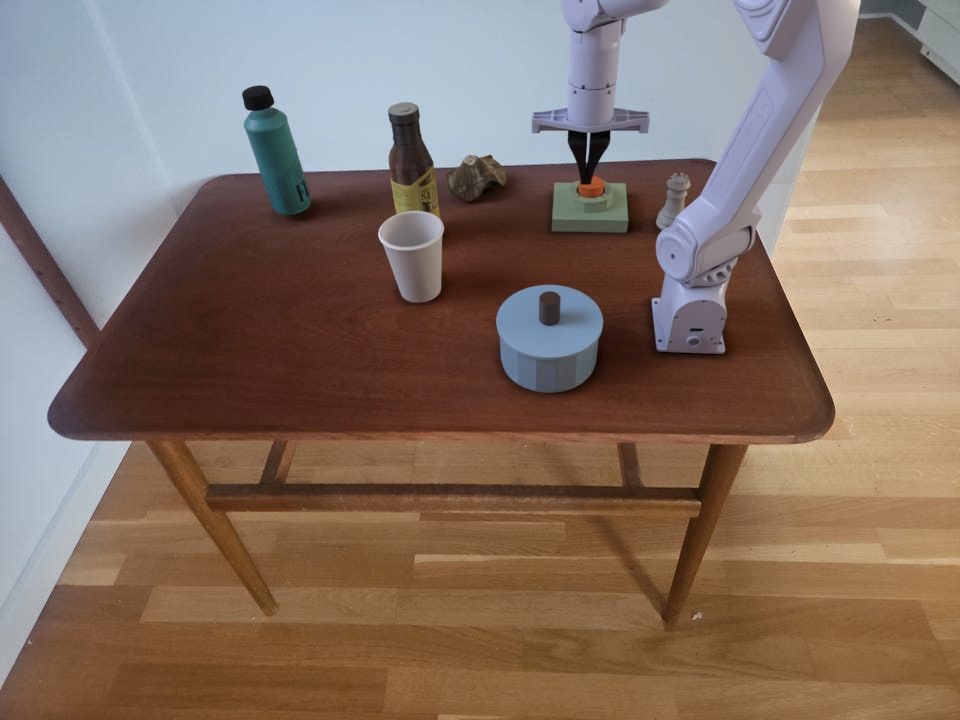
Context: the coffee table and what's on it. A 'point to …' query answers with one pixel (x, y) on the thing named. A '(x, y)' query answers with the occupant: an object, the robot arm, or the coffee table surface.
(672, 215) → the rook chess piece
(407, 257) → the dixie cup
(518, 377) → the tin
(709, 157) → the coffee table surface
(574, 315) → the tin lid
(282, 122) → the beverage bottle
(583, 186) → the button
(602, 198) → the switch block
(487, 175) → the fossilized seashell
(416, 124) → the sauce bottle
